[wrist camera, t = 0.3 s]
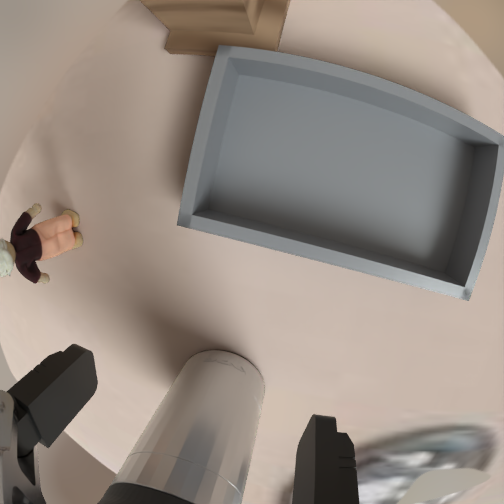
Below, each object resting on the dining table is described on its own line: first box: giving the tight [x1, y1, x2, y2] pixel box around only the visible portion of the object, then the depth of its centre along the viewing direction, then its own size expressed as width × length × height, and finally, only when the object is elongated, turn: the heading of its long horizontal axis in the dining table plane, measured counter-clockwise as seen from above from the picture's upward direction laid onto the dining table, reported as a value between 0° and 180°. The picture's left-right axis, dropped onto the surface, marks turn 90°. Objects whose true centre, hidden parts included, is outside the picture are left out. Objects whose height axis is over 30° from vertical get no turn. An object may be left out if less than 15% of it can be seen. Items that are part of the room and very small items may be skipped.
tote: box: [177, 45, 504, 301], centre depth 21 cm, size 14×24×5 cm, turn 77°
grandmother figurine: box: [0, 203, 83, 284], centre depth 23 cm, size 8×4×13 cm, turn 14°
